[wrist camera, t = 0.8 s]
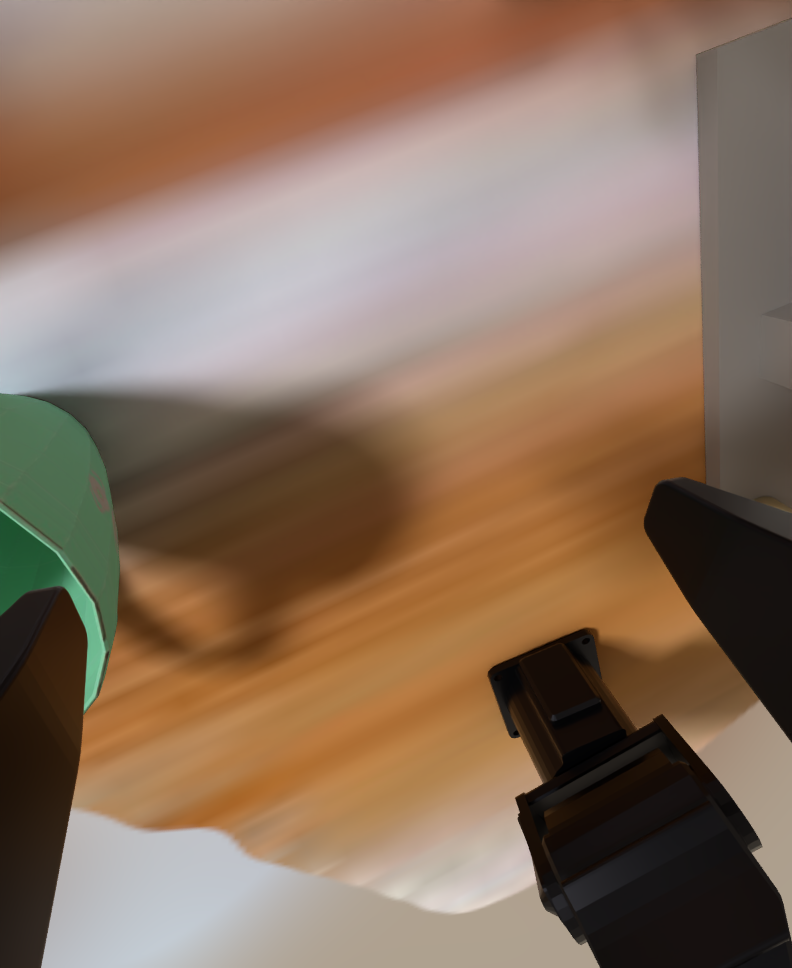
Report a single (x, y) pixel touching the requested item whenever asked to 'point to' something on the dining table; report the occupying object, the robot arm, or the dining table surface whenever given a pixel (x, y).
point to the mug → (58, 521)
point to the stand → (747, 263)
